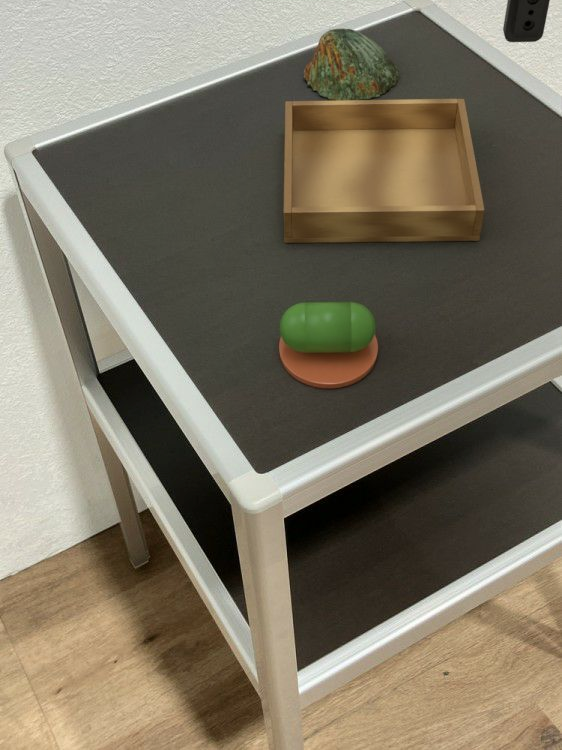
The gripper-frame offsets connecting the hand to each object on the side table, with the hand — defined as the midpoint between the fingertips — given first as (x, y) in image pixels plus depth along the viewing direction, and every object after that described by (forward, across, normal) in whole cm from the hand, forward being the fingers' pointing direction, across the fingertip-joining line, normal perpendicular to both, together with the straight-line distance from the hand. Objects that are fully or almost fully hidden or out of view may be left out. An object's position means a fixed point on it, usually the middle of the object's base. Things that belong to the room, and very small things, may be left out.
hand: (511, 0), depth 59 cm
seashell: (+28, +35, +8) cm, 46 cm away
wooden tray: (+28, +17, +6) cm, 33 cm away
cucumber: (+27, -4, +11) cm, 30 cm away
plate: (+28, -4, +11) cm, 30 cm away
